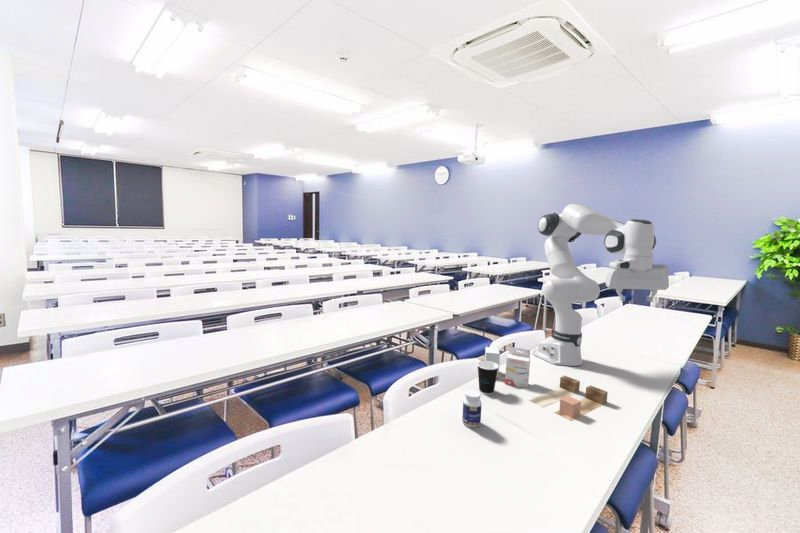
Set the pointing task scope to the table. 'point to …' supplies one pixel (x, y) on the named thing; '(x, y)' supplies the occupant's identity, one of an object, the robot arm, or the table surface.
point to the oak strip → (589, 401)
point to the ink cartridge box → (517, 367)
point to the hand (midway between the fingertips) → (635, 301)
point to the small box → (492, 356)
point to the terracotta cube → (570, 406)
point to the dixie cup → (487, 376)
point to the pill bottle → (472, 409)
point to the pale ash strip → (558, 392)
